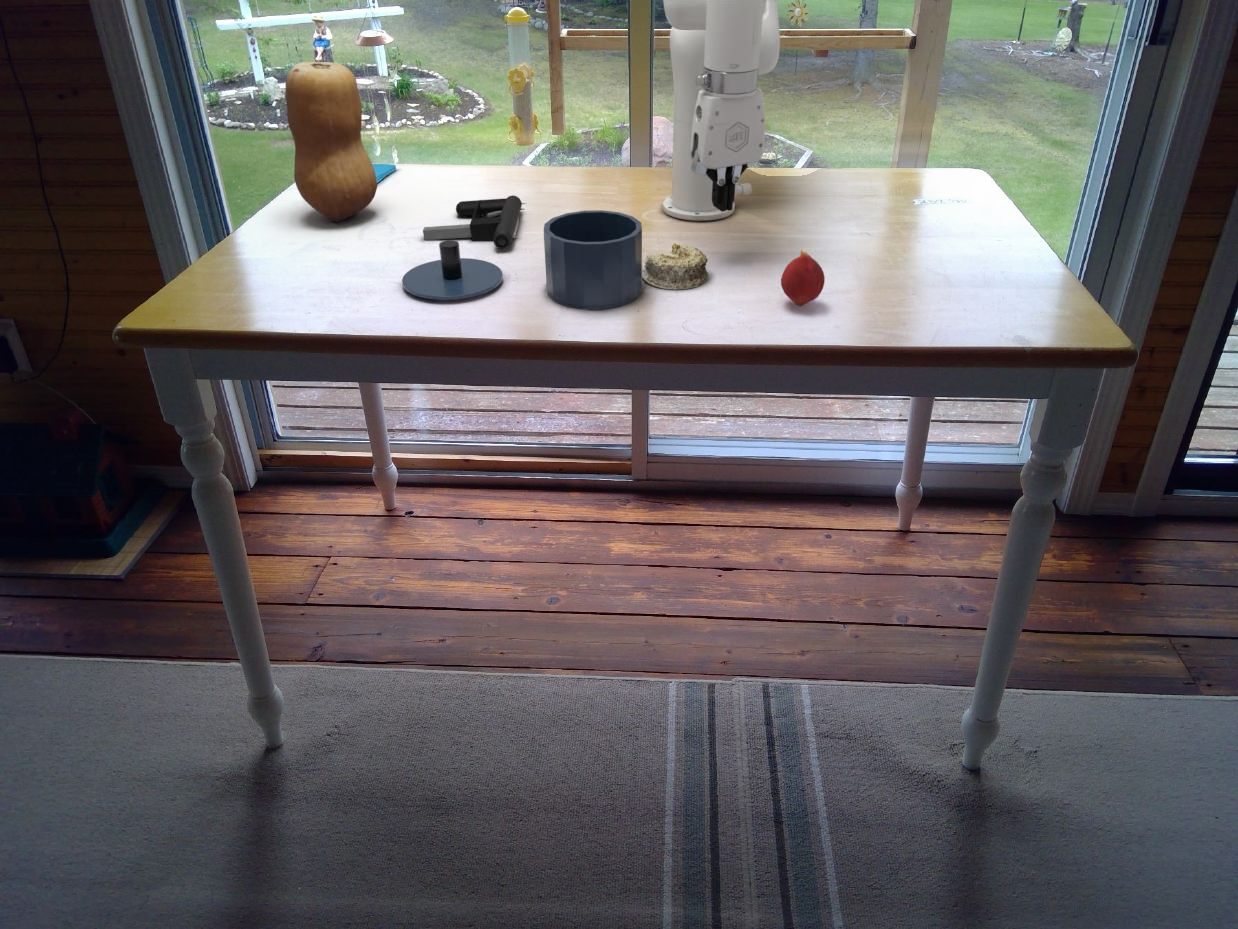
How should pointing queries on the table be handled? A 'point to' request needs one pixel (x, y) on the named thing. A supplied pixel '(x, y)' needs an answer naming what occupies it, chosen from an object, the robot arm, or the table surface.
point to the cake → (676, 268)
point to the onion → (802, 279)
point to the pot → (593, 259)
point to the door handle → (483, 222)
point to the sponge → (383, 170)
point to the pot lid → (452, 276)
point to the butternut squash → (328, 139)
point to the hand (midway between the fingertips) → (722, 207)
